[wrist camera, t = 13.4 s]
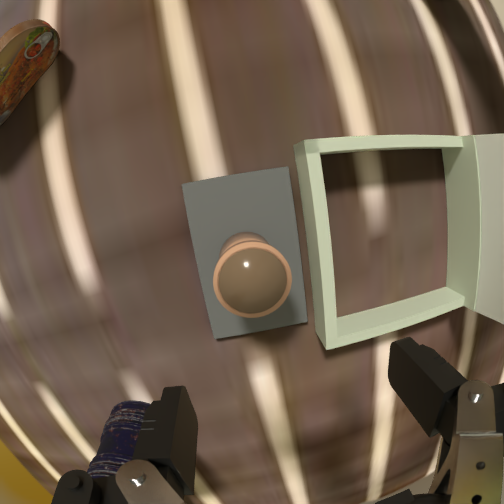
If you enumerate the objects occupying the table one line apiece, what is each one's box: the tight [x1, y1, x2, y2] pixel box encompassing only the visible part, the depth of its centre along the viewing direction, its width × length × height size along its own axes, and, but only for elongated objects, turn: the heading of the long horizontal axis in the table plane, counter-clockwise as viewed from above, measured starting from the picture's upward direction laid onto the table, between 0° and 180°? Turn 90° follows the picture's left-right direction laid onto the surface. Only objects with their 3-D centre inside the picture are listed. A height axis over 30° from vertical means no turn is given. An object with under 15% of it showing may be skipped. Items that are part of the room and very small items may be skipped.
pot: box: [213, 232, 292, 318], centre depth 25 cm, size 6×6×7 cm
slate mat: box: [182, 167, 308, 339], centre depth 29 cm, size 10×16×1 cm, turn 9°
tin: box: [0, 19, 60, 125], centre depth 18 cm, size 15×3×8 cm, turn 130°
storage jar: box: [87, 401, 151, 478], centre depth 26 cm, size 10×10×15 cm
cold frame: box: [293, 133, 504, 350], centre depth 20 cm, size 23×20×22 cm
